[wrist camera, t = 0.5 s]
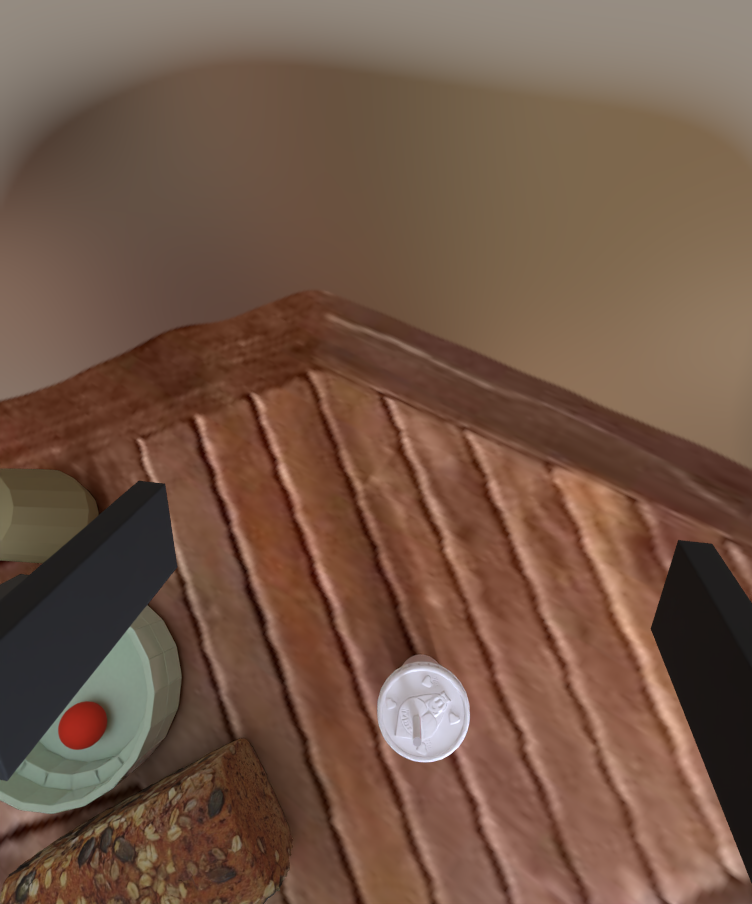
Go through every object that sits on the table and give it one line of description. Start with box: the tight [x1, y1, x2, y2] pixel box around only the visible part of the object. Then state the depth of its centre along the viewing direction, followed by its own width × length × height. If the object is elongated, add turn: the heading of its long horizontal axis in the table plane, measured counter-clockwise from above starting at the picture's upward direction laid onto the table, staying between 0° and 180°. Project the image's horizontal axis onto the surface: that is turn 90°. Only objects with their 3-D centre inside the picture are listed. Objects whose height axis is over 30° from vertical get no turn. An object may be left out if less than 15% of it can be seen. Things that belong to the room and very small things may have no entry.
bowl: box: [0, 605, 182, 814], centre depth 47 cm, size 16×16×6 cm
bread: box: [0, 738, 293, 904], centre depth 42 cm, size 19×11×10 cm, turn 118°
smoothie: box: [377, 654, 470, 762], centre depth 41 cm, size 6×6×14 cm
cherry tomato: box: [58, 701, 107, 750], centre depth 46 cm, size 4×4×4 cm
